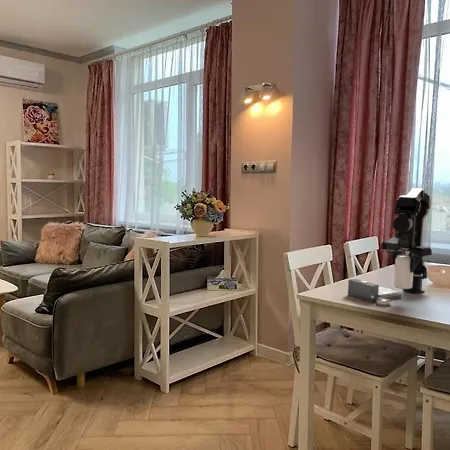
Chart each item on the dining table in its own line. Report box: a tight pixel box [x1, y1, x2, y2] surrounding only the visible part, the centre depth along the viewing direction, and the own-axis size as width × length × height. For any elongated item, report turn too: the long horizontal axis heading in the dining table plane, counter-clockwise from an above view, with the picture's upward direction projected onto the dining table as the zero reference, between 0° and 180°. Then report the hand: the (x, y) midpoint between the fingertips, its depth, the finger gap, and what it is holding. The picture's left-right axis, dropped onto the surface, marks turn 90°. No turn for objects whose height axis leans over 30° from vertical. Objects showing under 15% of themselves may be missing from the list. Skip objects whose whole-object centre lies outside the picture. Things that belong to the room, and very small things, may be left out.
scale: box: [347, 278, 402, 304], centre depth 187 cm, size 16×13×7 cm
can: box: [393, 254, 413, 290], centre depth 176 cm, size 6×6×12 cm
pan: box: [378, 286, 401, 297], centre depth 188 cm, size 11×11×1 cm
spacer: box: [375, 298, 391, 307], centre depth 175 cm, size 5×5×2 cm
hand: (404, 270), depth 176 cm, fingers closed on can, 6 cm apart
